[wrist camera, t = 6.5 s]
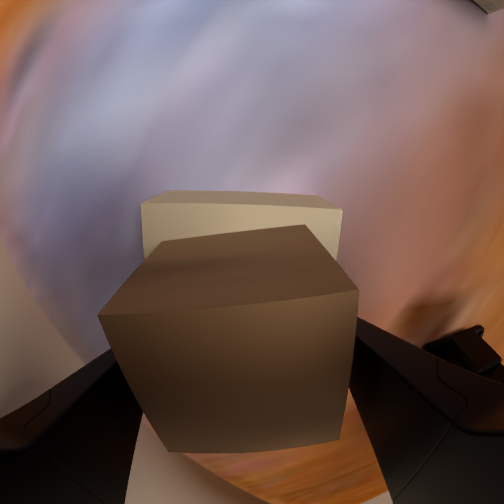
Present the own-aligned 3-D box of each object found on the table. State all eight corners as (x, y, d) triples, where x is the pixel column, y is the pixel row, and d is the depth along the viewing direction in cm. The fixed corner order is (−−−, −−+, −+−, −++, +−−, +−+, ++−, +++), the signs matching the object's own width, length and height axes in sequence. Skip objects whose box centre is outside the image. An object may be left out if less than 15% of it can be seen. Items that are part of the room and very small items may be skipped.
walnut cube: (309, 342, 11) (338, 439, 6) (190, 353, 11) (168, 451, 6) (304, 224, 10) (358, 289, 5) (162, 241, 10) (97, 314, 5)
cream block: (301, 320, 15) (315, 367, 12) (176, 317, 15) (159, 362, 11) (315, 194, 13) (342, 209, 9) (169, 189, 13) (140, 203, 9)
